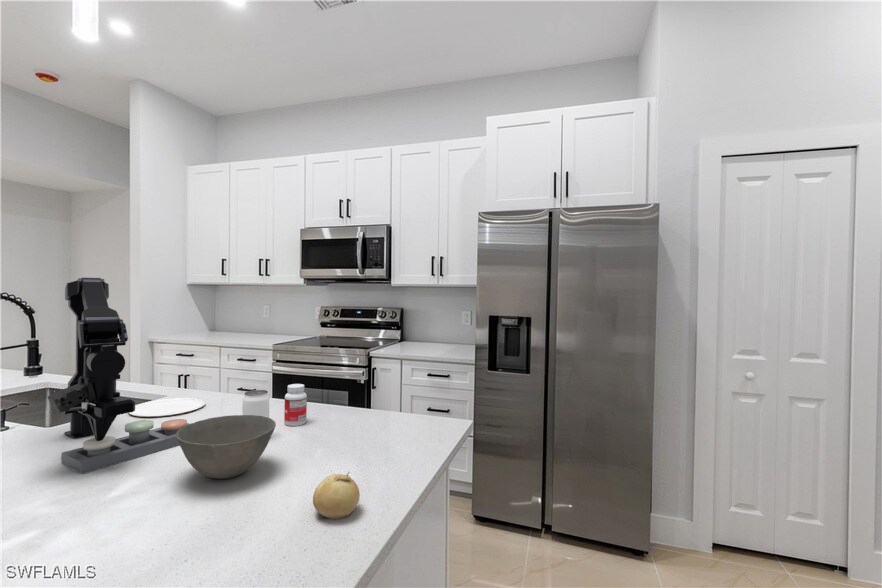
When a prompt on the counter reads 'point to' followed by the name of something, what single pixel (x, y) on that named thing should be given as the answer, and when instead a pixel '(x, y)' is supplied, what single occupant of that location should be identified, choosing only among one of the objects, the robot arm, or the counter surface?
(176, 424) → the terracotta button
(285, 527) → the counter surface
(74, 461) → the panel
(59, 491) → the counter surface
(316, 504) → the onion
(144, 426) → the sage button
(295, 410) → the pill bottle
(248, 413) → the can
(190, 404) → the plate
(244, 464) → the bowl
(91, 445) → the ivory button
